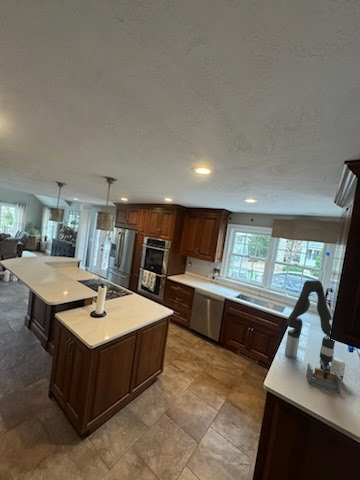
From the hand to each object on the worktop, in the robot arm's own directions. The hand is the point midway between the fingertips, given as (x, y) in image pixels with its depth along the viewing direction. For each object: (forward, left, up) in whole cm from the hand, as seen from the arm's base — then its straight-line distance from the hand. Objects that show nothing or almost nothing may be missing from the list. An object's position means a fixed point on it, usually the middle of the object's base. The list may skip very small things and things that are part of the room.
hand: (323, 375), depth 148 cm
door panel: (0, +1, -6) cm, 6 cm away
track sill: (0, 0, -7) cm, 7 cm away
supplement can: (-13, +12, -7) cm, 19 cm away
